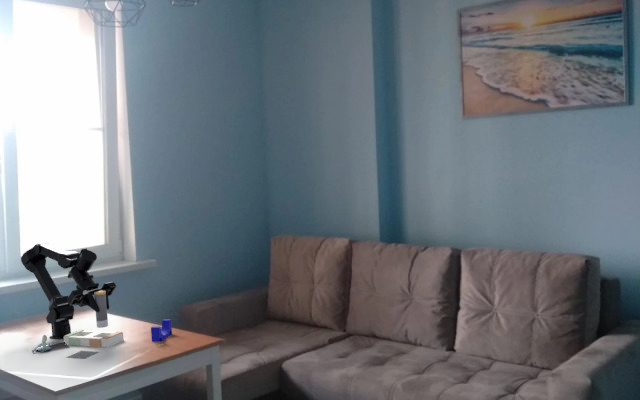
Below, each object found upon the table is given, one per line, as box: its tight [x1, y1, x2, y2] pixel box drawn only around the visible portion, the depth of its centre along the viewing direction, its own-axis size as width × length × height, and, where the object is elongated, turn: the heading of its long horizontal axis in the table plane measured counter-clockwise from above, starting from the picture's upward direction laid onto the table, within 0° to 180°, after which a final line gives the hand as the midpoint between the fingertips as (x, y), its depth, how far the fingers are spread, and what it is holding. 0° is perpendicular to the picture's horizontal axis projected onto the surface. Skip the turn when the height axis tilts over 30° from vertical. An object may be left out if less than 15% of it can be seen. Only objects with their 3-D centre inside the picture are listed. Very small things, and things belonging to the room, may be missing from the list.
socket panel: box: [63, 329, 125, 348], centre depth 252 cm, size 20×9×4 cm, turn 70°
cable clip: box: [150, 318, 173, 342], centre depth 254 cm, size 12×4×6 cm, turn 170°
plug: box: [93, 291, 109, 329], centre depth 249 cm, size 4×4×13 cm
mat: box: [65, 350, 100, 360], centre depth 236 cm, size 8×8×1 cm
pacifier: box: [32, 334, 52, 354], centre depth 245 cm, size 7×6×6 cm
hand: (103, 310), depth 249 cm, fingers closed on plug, 4 cm apart
